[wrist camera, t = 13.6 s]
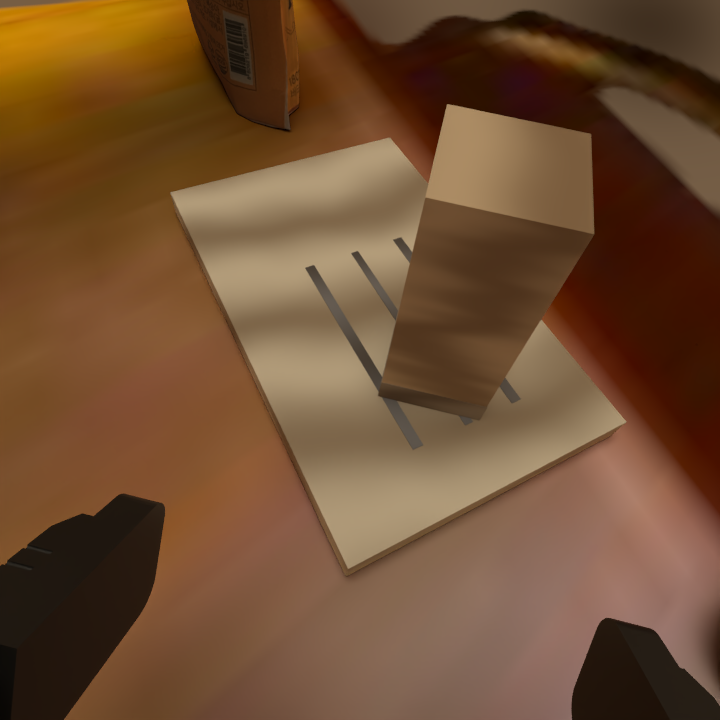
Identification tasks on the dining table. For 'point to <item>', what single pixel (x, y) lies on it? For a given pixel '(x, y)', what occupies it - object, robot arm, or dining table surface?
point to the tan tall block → (487, 256)
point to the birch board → (369, 351)
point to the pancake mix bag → (252, 55)
